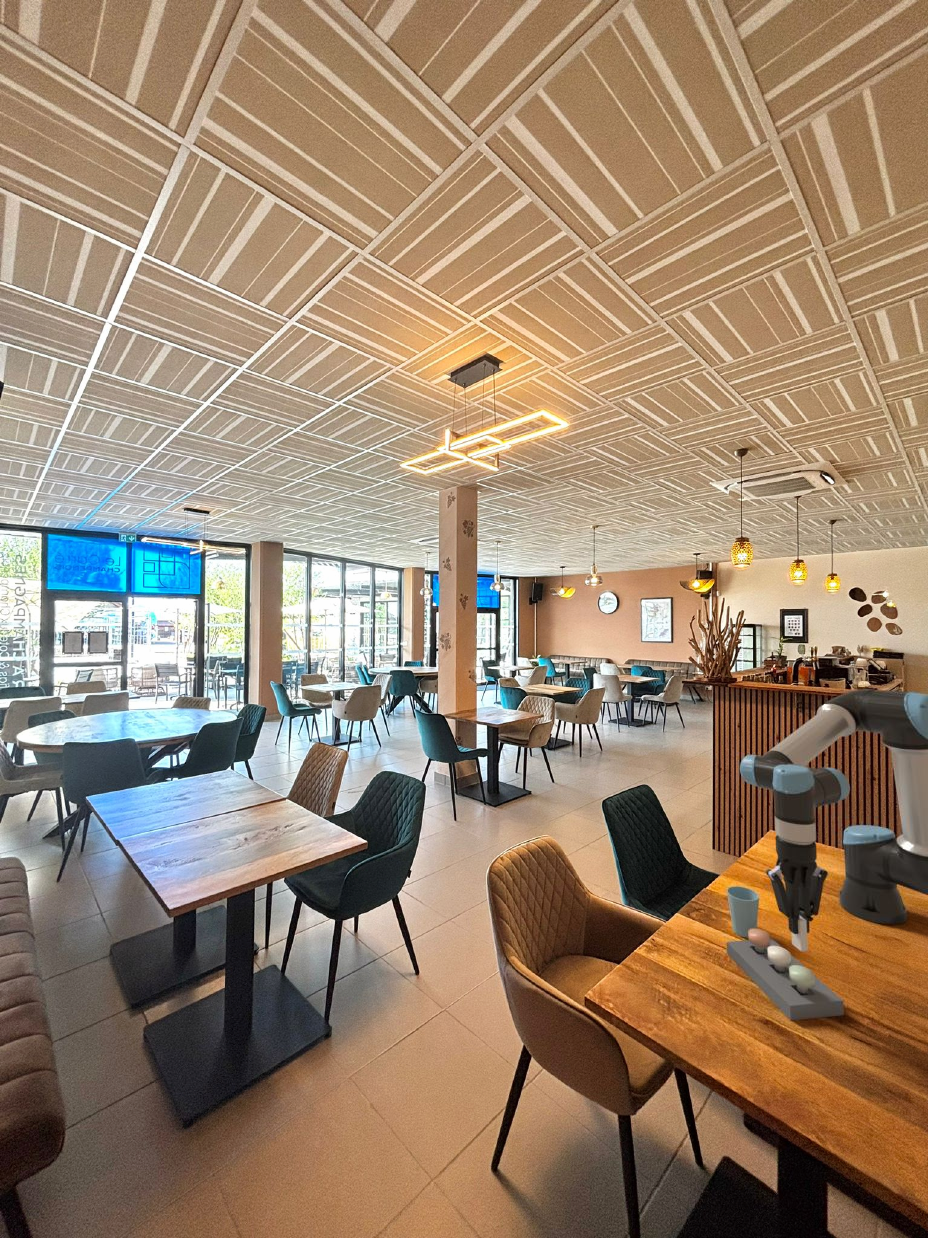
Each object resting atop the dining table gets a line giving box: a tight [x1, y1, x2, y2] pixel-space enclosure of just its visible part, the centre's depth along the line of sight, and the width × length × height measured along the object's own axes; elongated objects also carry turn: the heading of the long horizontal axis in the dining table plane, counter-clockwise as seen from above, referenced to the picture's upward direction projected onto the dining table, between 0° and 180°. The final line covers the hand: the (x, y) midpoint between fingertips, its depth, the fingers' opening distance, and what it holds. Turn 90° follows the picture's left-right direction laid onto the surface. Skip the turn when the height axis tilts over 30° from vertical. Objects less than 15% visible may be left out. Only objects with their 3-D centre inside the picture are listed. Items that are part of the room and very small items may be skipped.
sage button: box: [789, 965, 815, 994], centre depth 110 cm, size 5×5×4 cm
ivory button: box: [768, 946, 792, 972], centre depth 117 cm, size 5×5×4 cm
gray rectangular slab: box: [726, 937, 845, 1021], centre depth 117 cm, size 12×22×3 cm, turn 5°
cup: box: [726, 885, 760, 939], centre depth 136 cm, size 8×8×10 cm
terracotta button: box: [748, 928, 771, 953], centre depth 124 cm, size 5×5×4 cm
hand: (799, 947), depth 110 cm, fingers closed
